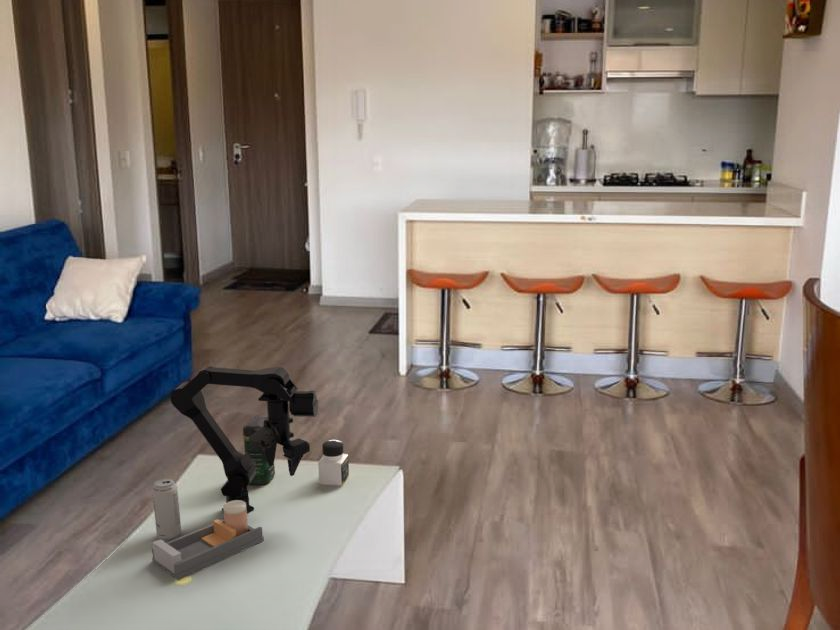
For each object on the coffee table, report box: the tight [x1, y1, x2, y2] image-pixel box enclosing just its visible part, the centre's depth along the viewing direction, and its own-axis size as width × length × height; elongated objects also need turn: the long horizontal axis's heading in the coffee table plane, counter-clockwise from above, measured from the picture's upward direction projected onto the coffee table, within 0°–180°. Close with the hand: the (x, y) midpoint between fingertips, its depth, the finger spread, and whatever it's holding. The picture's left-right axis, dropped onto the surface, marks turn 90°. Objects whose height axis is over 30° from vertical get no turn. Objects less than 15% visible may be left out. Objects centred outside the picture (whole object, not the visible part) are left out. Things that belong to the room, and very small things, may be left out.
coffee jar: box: [242, 416, 276, 486], centre depth 234 cm, size 10×8×19 cm
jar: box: [222, 500, 249, 537], centre depth 201 cm, size 6×6×8 cm
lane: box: [151, 519, 265, 580], centre depth 196 cm, size 12×24×6 cm, turn 136°
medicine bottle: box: [317, 439, 350, 487], centre depth 233 cm, size 7×7×12 cm
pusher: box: [202, 518, 236, 547], centre depth 198 cm, size 8×5×4 cm, turn 46°
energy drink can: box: [152, 477, 182, 542], centre depth 202 cm, size 6×6×15 cm
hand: (281, 470), depth 213 cm, fingers open, 9 cm apart
